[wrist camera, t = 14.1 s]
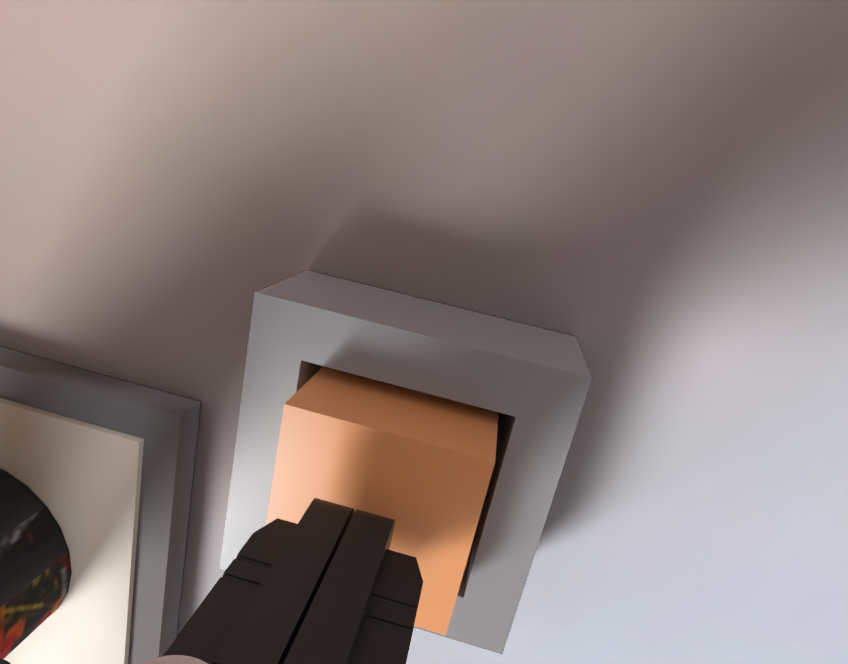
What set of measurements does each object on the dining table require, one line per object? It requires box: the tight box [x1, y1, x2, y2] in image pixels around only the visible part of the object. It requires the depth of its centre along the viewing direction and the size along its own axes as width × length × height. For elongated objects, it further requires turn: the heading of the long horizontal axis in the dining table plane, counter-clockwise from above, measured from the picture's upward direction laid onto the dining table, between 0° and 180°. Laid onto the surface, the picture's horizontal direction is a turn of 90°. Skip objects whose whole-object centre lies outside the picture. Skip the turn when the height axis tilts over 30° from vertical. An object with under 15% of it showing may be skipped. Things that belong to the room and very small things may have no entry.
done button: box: [266, 366, 499, 636], centre depth 12 cm, size 4×4×3 cm
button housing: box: [220, 270, 592, 654], centre depth 13 cm, size 7×7×3 cm
